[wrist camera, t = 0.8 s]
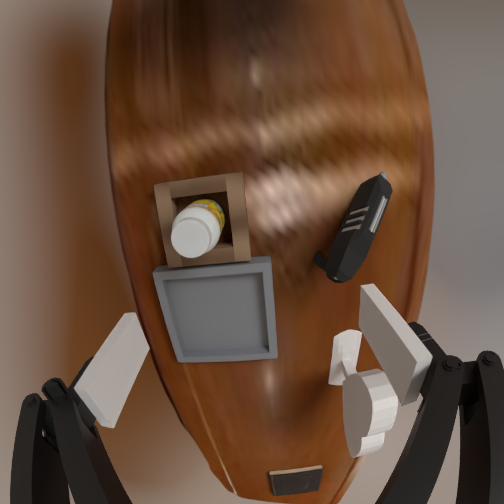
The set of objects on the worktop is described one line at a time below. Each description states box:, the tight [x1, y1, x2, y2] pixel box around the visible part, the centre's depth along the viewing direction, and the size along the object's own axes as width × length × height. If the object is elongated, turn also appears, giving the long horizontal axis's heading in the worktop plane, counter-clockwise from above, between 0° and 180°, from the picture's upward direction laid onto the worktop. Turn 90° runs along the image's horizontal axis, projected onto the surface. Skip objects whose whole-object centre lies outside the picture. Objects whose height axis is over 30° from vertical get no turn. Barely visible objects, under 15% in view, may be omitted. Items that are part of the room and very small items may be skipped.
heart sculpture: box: [328, 330, 398, 458], centre depth 35 cm, size 16×5×18 cm, turn 5°
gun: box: [314, 172, 393, 283], centre depth 33 cm, size 3×16×10 cm, turn 145°
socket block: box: [154, 172, 251, 268], centre depth 34 cm, size 11×11×2 cm
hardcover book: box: [269, 465, 324, 496], centre depth 62 cm, size 16×23×2 cm
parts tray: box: [152, 256, 278, 362], centre depth 39 cm, size 16×16×2 cm
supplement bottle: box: [171, 199, 225, 258], centre depth 31 cm, size 5×5×10 cm
